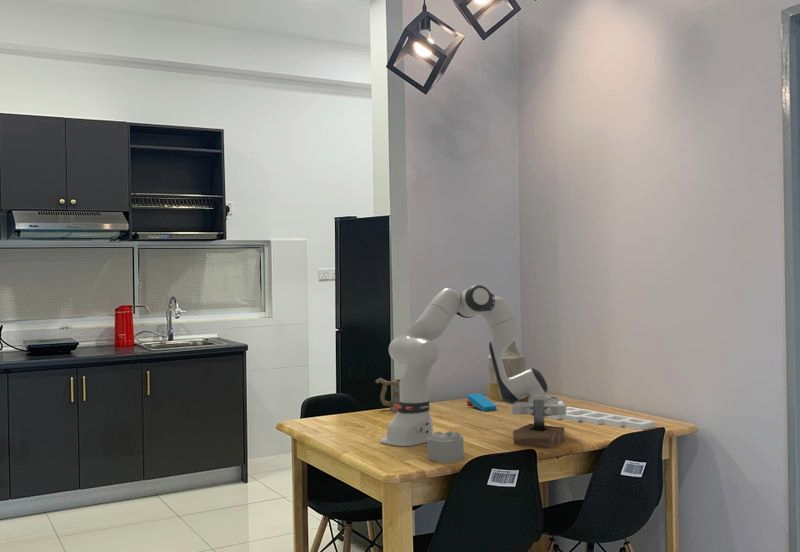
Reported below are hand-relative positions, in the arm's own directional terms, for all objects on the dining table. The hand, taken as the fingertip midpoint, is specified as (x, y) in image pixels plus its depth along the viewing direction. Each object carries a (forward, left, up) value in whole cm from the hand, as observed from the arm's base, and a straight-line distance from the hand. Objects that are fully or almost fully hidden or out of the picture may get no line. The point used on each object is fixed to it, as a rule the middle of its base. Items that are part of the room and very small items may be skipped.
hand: (538, 412), depth 277 cm
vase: (+84, +55, -11) cm, 101 cm away
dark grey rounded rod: (+1, 0, -9) cm, 9 cm away
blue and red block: (+52, +54, -12) cm, 76 cm away
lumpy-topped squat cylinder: (-36, +18, -12) cm, 42 cm away
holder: (+48, -4, -12) cm, 49 cm away
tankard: (+30, +85, -11) cm, 91 cm away
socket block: (+1, 0, -11) cm, 11 cm away
